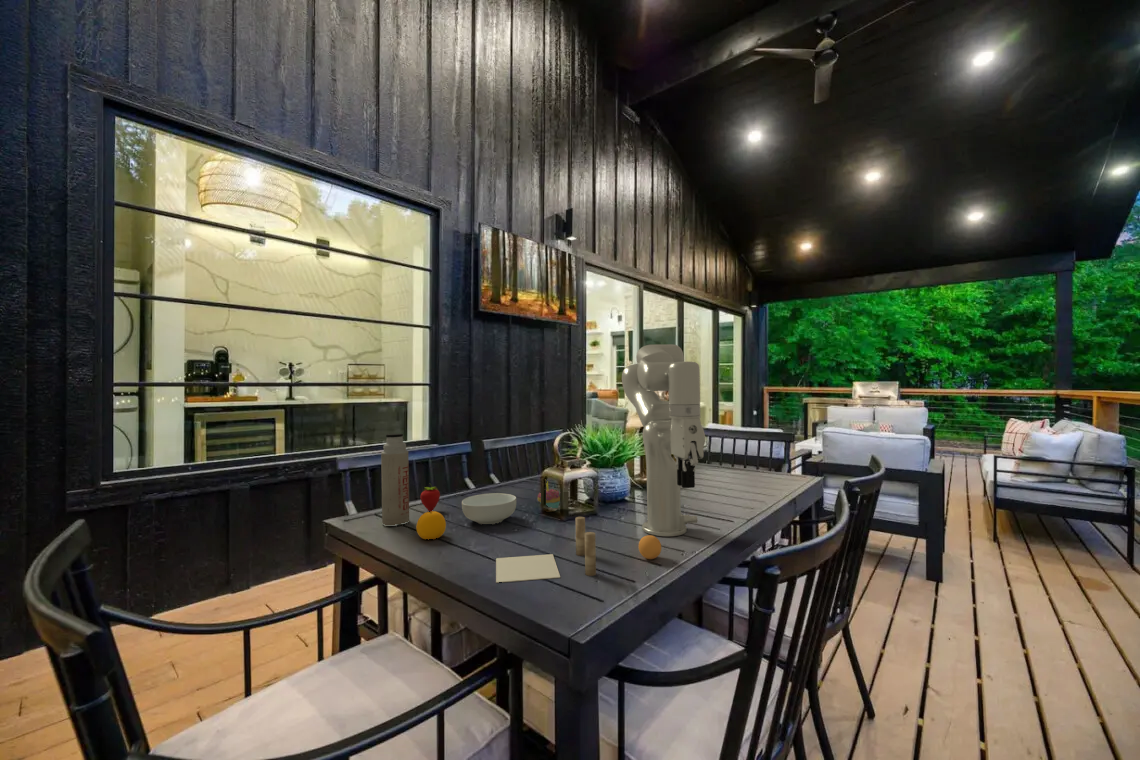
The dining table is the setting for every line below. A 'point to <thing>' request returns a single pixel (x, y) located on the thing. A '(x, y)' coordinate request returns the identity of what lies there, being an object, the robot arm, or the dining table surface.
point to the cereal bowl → (489, 507)
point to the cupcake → (551, 497)
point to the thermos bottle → (395, 481)
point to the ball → (650, 547)
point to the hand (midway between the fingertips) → (685, 485)
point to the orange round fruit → (431, 525)
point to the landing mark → (526, 568)
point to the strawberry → (430, 497)
